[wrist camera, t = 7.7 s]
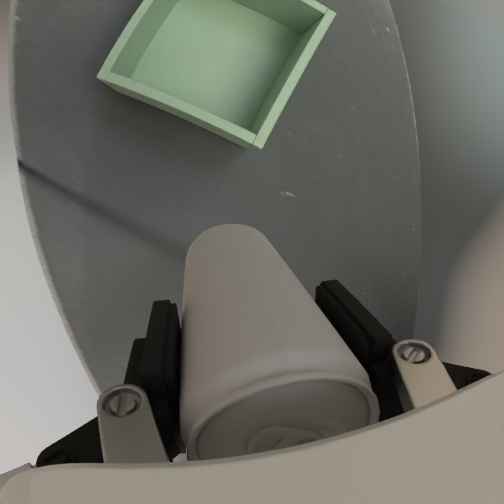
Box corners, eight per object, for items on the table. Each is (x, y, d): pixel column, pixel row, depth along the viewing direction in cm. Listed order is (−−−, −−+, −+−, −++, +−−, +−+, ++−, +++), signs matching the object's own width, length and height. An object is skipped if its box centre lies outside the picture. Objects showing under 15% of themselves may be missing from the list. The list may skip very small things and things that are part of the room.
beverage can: (247, 314, 18) (309, 497, 7) (170, 282, 17) (151, 479, 6) (288, 243, 17) (420, 390, 6) (210, 203, 16) (246, 338, 5)
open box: (117, 91, 24) (95, 77, 18) (187, -19, 21) (187, -55, 15) (247, 149, 28) (261, 149, 22) (309, 36, 25) (336, 13, 19)
